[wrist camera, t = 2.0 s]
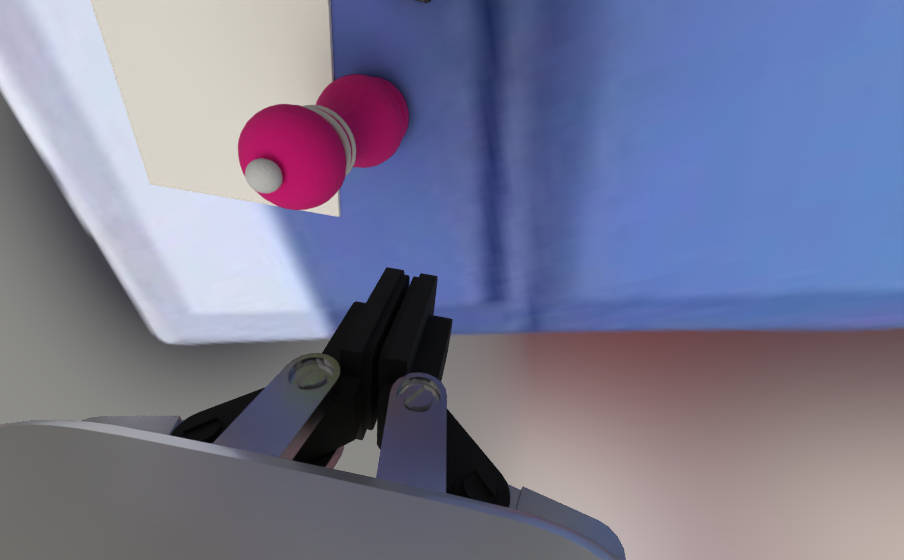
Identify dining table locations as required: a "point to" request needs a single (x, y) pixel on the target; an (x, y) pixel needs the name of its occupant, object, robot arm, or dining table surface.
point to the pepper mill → (321, 140)
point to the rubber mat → (213, 80)
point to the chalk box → (424, 1)
